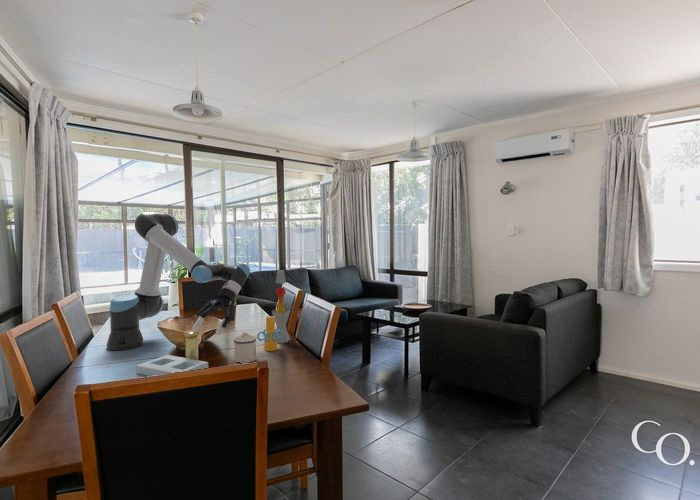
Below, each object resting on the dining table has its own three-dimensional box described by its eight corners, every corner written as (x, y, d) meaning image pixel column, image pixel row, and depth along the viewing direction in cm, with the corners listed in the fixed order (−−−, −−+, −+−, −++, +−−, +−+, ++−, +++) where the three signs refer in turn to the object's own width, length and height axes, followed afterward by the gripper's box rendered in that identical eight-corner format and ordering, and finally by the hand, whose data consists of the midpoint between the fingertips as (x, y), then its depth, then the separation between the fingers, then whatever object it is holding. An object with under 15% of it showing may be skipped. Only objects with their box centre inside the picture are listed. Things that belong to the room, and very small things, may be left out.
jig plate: (136, 373, 144) (136, 365, 144) (168, 362, 157) (168, 354, 157) (178, 382, 135) (178, 374, 135) (208, 369, 148) (208, 362, 148)
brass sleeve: (180, 362, 157) (180, 333, 156) (192, 357, 162) (191, 330, 162) (191, 364, 154) (191, 335, 154) (203, 359, 160) (202, 331, 159)
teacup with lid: (259, 360, 159) (259, 333, 158) (238, 365, 153) (238, 336, 153) (249, 353, 168) (248, 327, 168) (228, 357, 163) (228, 330, 163)
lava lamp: (293, 341, 188) (293, 270, 186) (276, 344, 183) (275, 271, 181) (285, 337, 195) (285, 269, 194) (269, 340, 190) (268, 270, 189)
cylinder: (276, 354, 167) (276, 320, 167) (254, 352, 170) (253, 319, 169) (286, 346, 179) (286, 314, 179) (265, 345, 182) (265, 313, 181)
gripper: (254, 298, 174) (233, 339, 161) (213, 295, 184) (189, 333, 171) (247, 288, 169) (223, 330, 156) (204, 286, 179) (179, 324, 166)
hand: (205, 332), depth 163 cm, fingers open, 13 cm apart
